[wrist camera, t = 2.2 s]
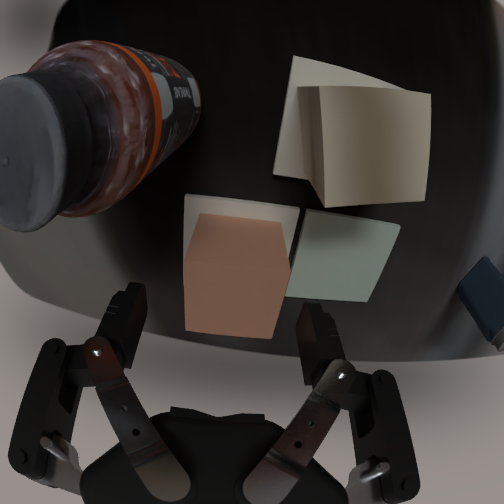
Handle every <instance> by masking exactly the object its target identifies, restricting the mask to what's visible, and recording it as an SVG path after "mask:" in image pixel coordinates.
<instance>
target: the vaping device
mask: <svg viewBox="0 0 504 504" xmlns="http://www.w3.org/2000/svg"><path fill="white" fill-rule="evenodd" d="M458 292H459V297H460V299H461V301H462V302H463V304H464V305H465V307H466V308H467V310H468V311H469V313H470V314H471V316H472V317H473V319H474V320H475V322H476V323H477V325H478V327H479V328H480V330H481V332H482V333H483V335H484V337H485V338H486V340H487V341H489V342H491V344H492V345H495V346H496V348H497V350H498V351H499V352H500V351H502V350H504V277H503V275H502V274H501V273H500V272H499V271H498V270H497V268H496V267H495V266H494V265H493V264H492V263H491V262H490V260H489V258H487V257H486V256H485V257H483V258H482V259H481V260H480V261H479V262H478V263H477V264H476V266H475V267H474V268H473V269H472V270H471V271H470V272H469V273H468V274H467V276H466V277H465V278H464V279H463V280H462V281H461V282H460V283H459V286H458Z"/></svg>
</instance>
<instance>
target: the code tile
mask: <svg viewBox="0 0 504 504" xmlns="http://www.w3.org/2000/svg"><path fill="white" fill-rule="evenodd" d="M299 212H300V209H299V207H293V206H286V205H279V204H272V203H264V202H256V201H248V200H240V199H231V198H222V197H213V196H204V195H193V194H186V195H185V200H184V241H183V277H184V259H185V256H186V253H187V250H188V246H189V243H190V240H191V237H192V235H193V232H194V229H195V226H196V223H197V220H198V217H199V214H200V213H205V214H214V215H223V216H232V217H241V218H249V219H258V220H266V221H274V222H281V225H282V230H283V235H284V240H285V245H286V250H287V255H288V256H289V252H290V248H291V244H292V240H293V236H294V232H295V228H296V224H297V220H298V216H299Z"/></svg>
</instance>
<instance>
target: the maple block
mask: <svg viewBox="0 0 504 504" xmlns="http://www.w3.org/2000/svg"><path fill="white" fill-rule="evenodd" d="M297 91H298V101H299V112H300V123H301V135H302V148H303V163H304V173H305V174H306V176H307V178H308V179H309V181H310V183H311V184H312V186H313V188H314V190H315V191H316V193H317V195H318V196H319V198H320V200H321V202H322V204H323V205H324V207H325V208H327V207H339V206H351V205H364V204H378V203H394V202H411V201H424V199H425V191H426V183H427V174H428V164H429V151H430V132H431V94H426V93H420V92H413V91H406V90H398V89H389V88H378V87H362V86H297Z"/></svg>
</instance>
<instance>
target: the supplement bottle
mask: <svg viewBox="0 0 504 504" xmlns="http://www.w3.org/2000/svg"><path fill="white" fill-rule="evenodd" d="M200 112H201V94H200V90H199V86H198V84H197V82H196V80H195V78H194V77H193V75H192V74H191V73H190V72H189V71H188V70H187V69H186V68H185V67H184V66H182V65H181V64H179V63H177V62H176V61H174V60H172V59H169V58H167V57H164V56H160V55H158V54H154V53H150V52H146V51H143V50H138V49H135V48H132V47H127V46H123V45H120V44H116V43H109V42H102V41H95V40H83V41H76V42H71V43H67V44H65V45H62V46H59V47H57V48H54V49H53V50H51V51H49V52H48V53H46V54H45V55H44V56H42V57H41V58H40V59H39V60H38V61H37V62H36V63H35V64H33V65H32V67H31V68H30V69H29V70H28V72H27V73H23V74H17V75H11V76H8V77H6V78H4V79H2V80H0V223H1V224H2V225H3V226H5V227H7V228H9V229H11V230H13V231H20V232H33V231H36V230H38V229H40V228H42V227H43V226H45V225H46V224H47V223H48V222H50V221H51V220H52V219H53V218H54V217H55V216H56V215H61V216H64V217H73V218H76V217H86V216H90V215H94V214H97V213H100V212H102V211H104V210H106V209H108V208H110V207H111V206H113V205H114V204H116V203H117V202H119V201H120V200H121V199H123V198H124V197H125V196H126V195H127V194H129V193H130V192H131V191H132V190H133V189H134V188H135V187H136V186H137V185H138V184H139V183H140V182H142V181H143V179H145V178H146V177H147V176H148V175H149V174H150V173H151V172H152V171H153V170H154V169H155V168H156V167H157V166H158V165H159V164H160V163H162V162H163V161H164V160H165V159H166V158H167V157H168V156H169V155H171V154H172V153H173V152H174V151H175V150H176V149H178V148H179V147H180V146H181V145H182V144H183V143H184V142H185V141H186V140H187V139H188V137H189V136H190V135H191V133H192V132H193V130H194V129H195V127H196V125H197V123H198V120H199V117H200Z"/></svg>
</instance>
